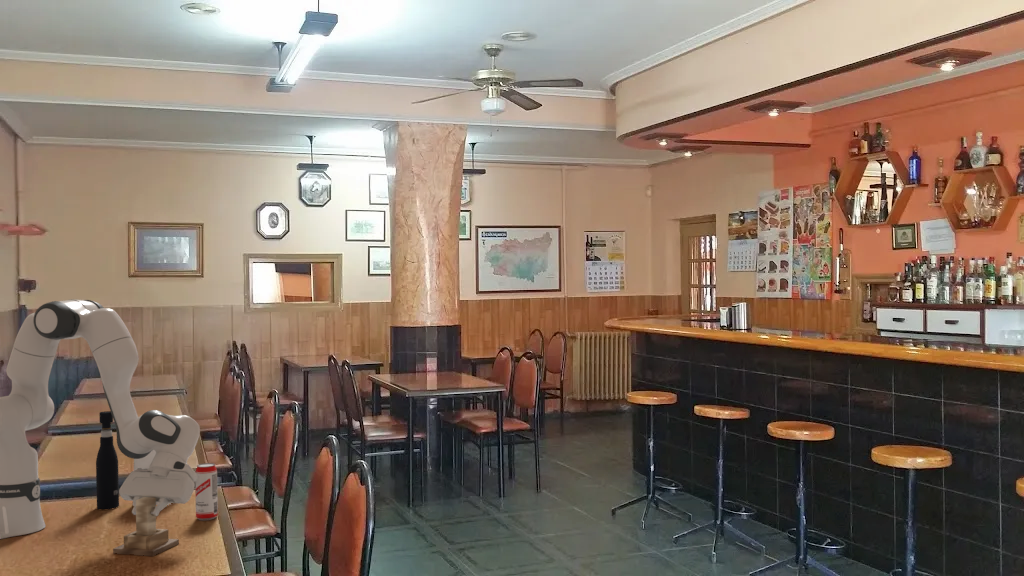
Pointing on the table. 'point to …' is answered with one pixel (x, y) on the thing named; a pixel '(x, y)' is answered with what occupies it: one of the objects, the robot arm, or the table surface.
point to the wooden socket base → (146, 543)
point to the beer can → (206, 492)
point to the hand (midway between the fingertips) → (144, 514)
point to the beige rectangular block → (145, 517)
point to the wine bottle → (107, 466)
